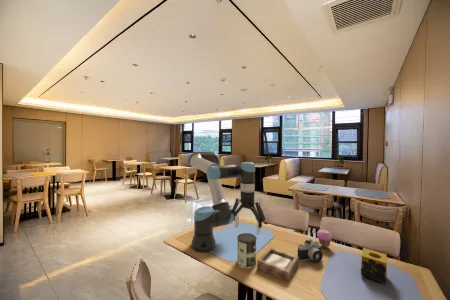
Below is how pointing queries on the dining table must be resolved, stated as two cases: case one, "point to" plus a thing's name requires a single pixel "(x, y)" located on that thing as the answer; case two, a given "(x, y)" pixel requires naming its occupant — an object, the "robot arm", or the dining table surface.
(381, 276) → the tissue box
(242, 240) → the coffee can
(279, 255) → the wooden box
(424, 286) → the dining table surface
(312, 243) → the camera
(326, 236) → the cupcake
